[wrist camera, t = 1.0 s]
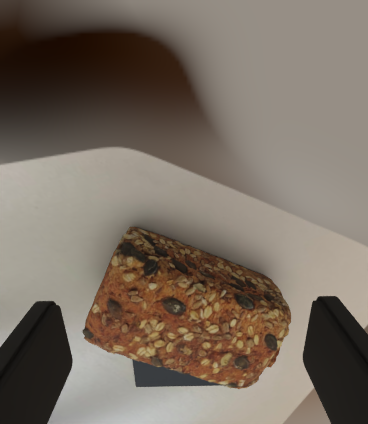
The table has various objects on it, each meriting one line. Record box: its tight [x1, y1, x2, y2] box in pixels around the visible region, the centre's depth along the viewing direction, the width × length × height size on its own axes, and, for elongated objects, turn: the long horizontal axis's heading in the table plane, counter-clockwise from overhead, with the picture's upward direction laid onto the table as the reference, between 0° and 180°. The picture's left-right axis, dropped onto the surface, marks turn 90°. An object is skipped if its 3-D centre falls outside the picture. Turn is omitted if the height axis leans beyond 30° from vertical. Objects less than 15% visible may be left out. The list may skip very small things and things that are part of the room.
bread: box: [83, 227, 291, 389], centre depth 28 cm, size 19×11×10 cm, turn 66°
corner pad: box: [133, 359, 222, 387], centre depth 37 cm, size 12×16×1 cm
